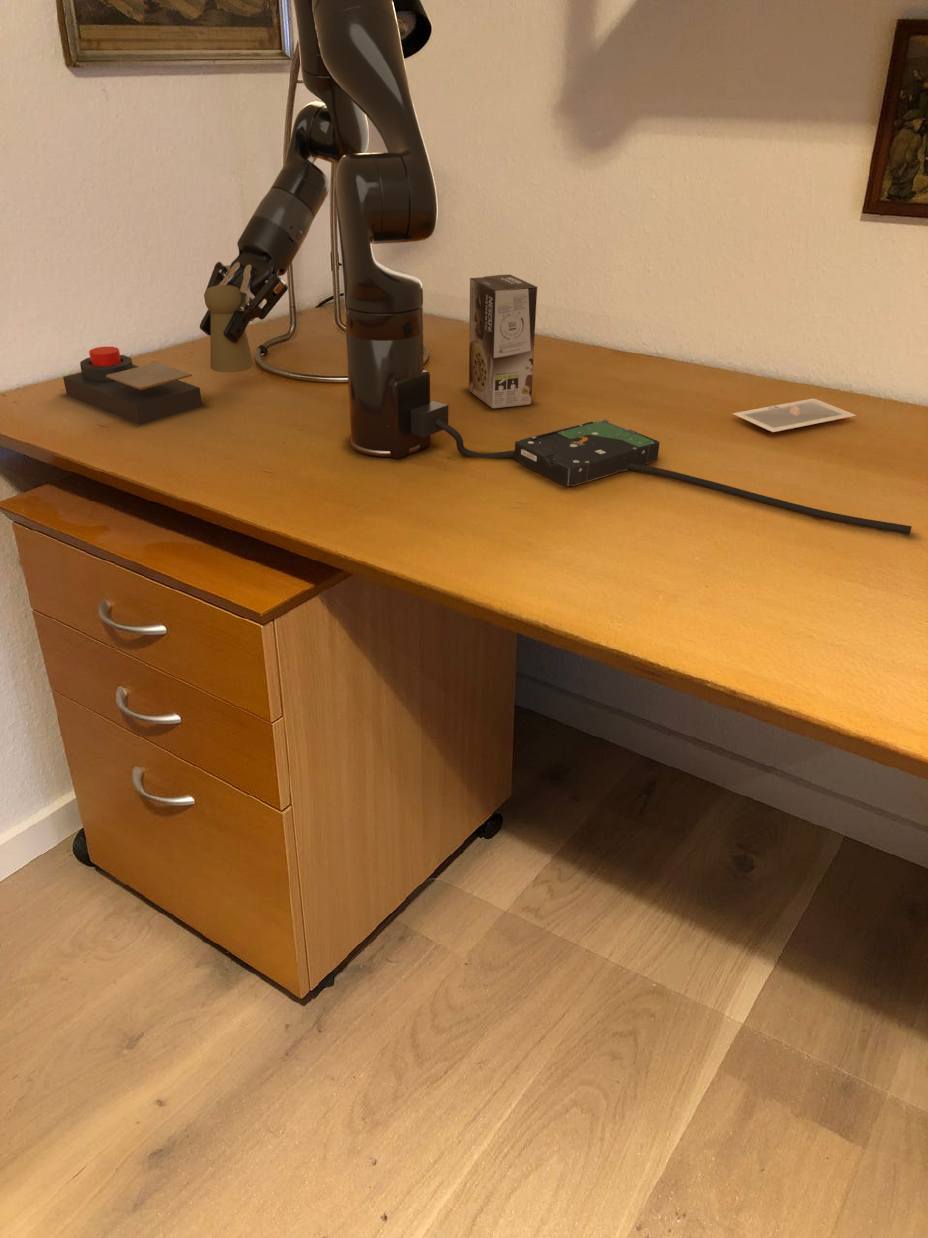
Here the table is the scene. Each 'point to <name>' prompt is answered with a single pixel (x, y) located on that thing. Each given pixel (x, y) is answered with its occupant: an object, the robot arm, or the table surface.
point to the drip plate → (148, 376)
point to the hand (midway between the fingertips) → (217, 335)
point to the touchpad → (793, 415)
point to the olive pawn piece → (221, 309)
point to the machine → (130, 393)
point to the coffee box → (501, 340)
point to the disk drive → (585, 452)
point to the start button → (104, 356)
